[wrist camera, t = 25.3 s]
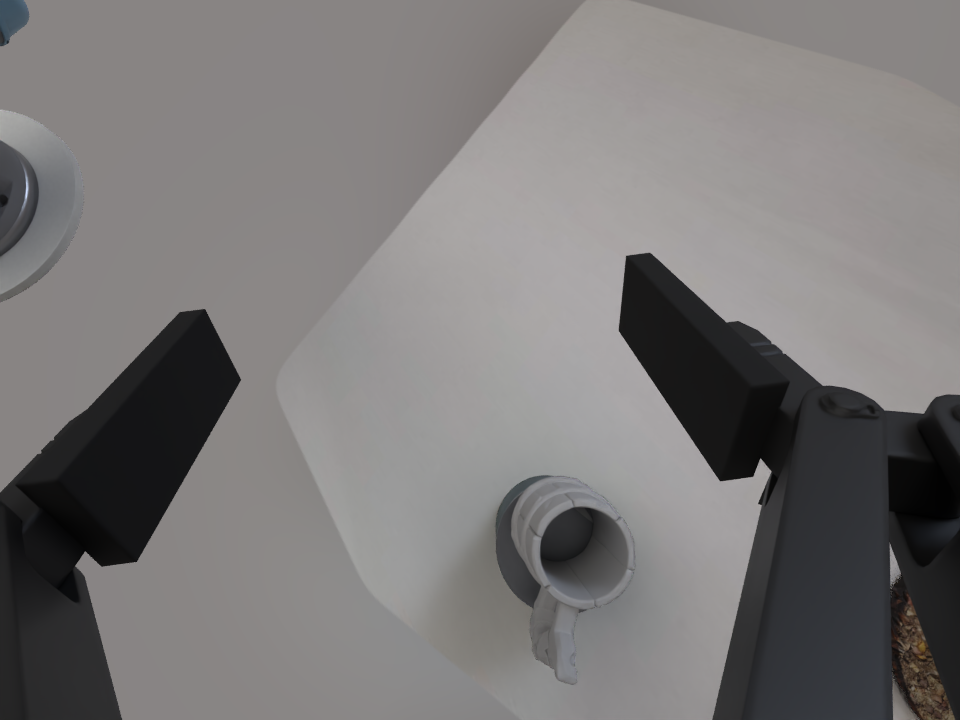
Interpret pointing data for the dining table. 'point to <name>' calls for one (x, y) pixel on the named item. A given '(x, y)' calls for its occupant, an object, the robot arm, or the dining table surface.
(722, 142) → the dining table surface
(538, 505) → the mug
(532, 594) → the grey round piece
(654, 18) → the dining table surface
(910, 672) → the cactus
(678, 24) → the dining table surface
